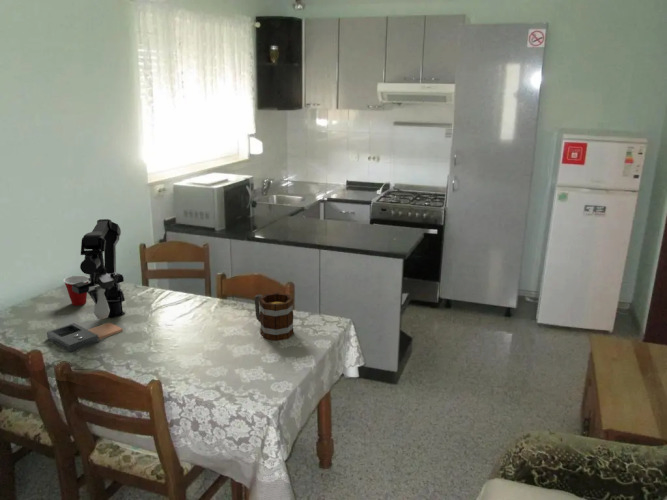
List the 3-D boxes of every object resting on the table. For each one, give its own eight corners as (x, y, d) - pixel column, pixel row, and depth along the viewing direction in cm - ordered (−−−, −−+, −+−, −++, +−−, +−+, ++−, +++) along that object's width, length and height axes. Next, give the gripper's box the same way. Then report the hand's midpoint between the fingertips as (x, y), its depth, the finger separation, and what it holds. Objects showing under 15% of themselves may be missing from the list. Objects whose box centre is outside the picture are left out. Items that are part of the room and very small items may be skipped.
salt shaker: (104, 320, 214) (101, 289, 211) (91, 319, 215) (87, 288, 212) (113, 314, 220) (109, 284, 216) (100, 313, 221) (97, 283, 217)
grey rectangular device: (75, 329, 221) (74, 322, 220) (98, 342, 210) (97, 334, 209) (47, 339, 213) (46, 331, 212) (70, 352, 202) (69, 344, 201)
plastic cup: (86, 308, 243) (82, 282, 239) (62, 307, 243) (58, 282, 240) (96, 299, 253) (93, 274, 250) (73, 298, 253) (70, 274, 250)
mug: (300, 333, 219) (300, 298, 215) (275, 344, 210) (274, 308, 206) (269, 319, 232) (268, 286, 228) (243, 329, 223) (242, 295, 218)
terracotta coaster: (109, 324, 226) (109, 322, 226) (122, 331, 220) (122, 328, 220) (86, 332, 219) (85, 330, 218) (99, 339, 213) (99, 337, 212)
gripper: (83, 276, 200) (88, 315, 204) (129, 264, 214) (133, 301, 218) (68, 270, 206) (74, 308, 211) (114, 258, 220) (118, 294, 225)
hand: (101, 303), depth 216 cm, fingers closed on salt shaker, 3 cm apart
